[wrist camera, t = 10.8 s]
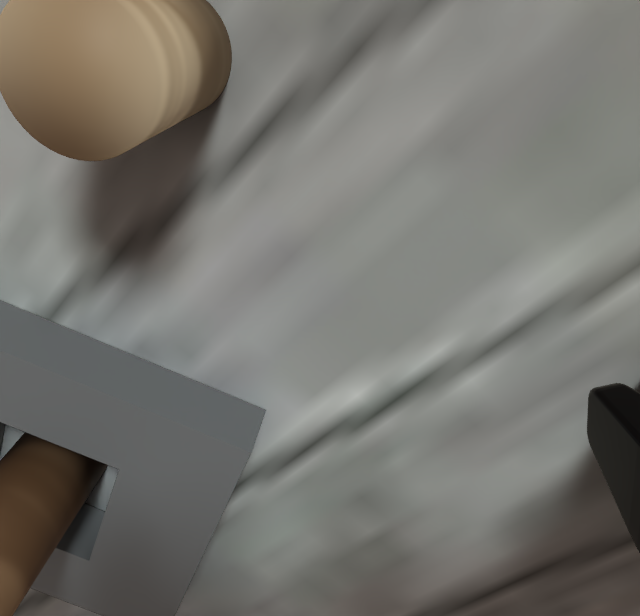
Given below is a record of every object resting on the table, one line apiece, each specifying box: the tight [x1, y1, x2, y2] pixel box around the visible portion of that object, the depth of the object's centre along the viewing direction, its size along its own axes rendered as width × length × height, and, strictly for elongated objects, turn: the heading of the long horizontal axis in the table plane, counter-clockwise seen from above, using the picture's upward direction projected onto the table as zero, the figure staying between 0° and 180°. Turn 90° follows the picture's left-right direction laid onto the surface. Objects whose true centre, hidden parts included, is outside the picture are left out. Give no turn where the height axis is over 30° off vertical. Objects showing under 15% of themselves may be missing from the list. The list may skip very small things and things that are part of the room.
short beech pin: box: [0, 0, 232, 161], centre depth 15 cm, size 4×4×6 cm
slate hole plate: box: [0, 300, 266, 616], centre depth 25 cm, size 14×12×2 cm
